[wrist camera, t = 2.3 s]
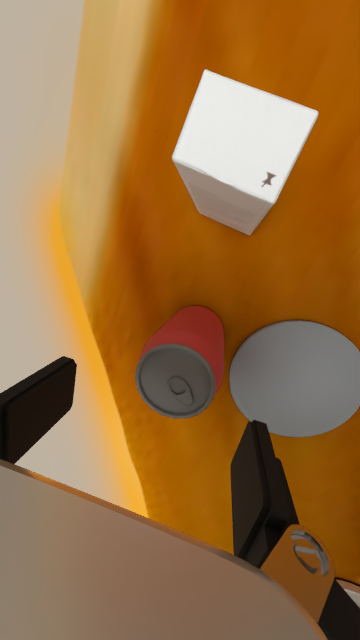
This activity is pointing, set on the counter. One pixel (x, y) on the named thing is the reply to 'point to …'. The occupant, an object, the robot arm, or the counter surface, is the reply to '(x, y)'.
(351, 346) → the slate mat
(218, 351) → the beer can
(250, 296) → the counter surface
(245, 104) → the skincare box
